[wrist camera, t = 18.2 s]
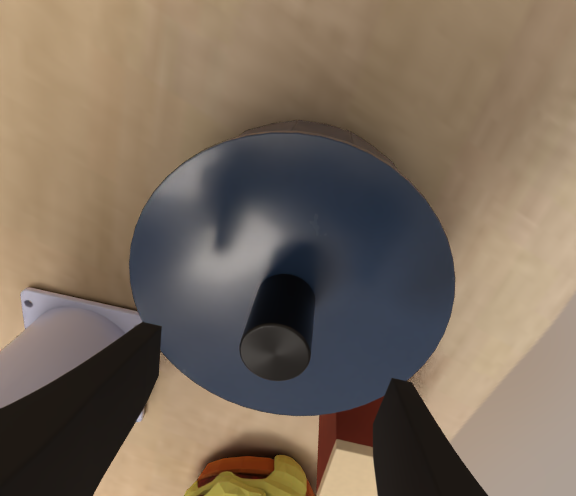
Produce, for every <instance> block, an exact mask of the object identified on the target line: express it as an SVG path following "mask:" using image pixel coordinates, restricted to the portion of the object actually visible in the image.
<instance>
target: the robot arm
mask: <svg viewBox="0 0 576 496" xmlns="http://www.w3.org/2000/svg"><path fill="white" fill-rule="evenodd" d="M30 301H31V302H32V303H31V302H30ZM21 302H22V310H23V318H24V326H25V330H24V331H23V332H22V333H20V334H19V335H18V336H17V337H16V338H15V339H14V340H12V341H11V342H10V343H9V344H8V345H7V346H6V347H4V348H3V349H2V350H1V351H0V496H93V494H94V492H95V490H96V489H97V487H98V485H99V483H100V481H101V479H102V478H103V476H104V474H105V472H106V471H107V469H108V467H109V466H110V464H111V462H112V461H113V459H114V457H115V456H116V454H117V452H118V451H119V449H120V447H121V446H122V444H123V442H124V441H125V439H126V437H127V436H128V434H129V432H130V431H131V429H132V427H133V426H134V424H135V422H140V421H141V420H142V419H143V417H144V408H145V405H146V403H147V401H148V399H149V396H150V394H151V392H152V390H153V387H154V385H155V383H156V381H157V378H158V376H159V362H160V346H161V330H162V326H158V325H154V324H150V323H145V322H142V320H141V318H140V316H139V313H138V311H134V310H129V309H125V308H120V307H116V306H111V305H107V304H102V303H98V302H94V301H89V300H85V299H80V298H76V297H71V296H67V295H62V294H58V293H53V292H49V291H44V290H40V289H35V288H31V287H28V288H25V289H24V290H23V291H22V292H21ZM373 462H374V470H375V478H376V486H377V494H378V496H488V495H487V494H486V492H485V491H484V490H483V489H482V487H481V486H480V485H479V483H478V482H477V481H476V479H475V478H474V477H473V475H472V474H471V473H470V471H469V470H468V468H466V466H465V465H464V463H463V462H462V461H461V459H460V457H459V456H458V455H457V453H456V452H455V450H454V449H453V447H452V446H451V444H450V443H449V441H448V440H447V438H446V437H445V435H444V434H443V432H442V431H441V429H440V427H439V426H438V424H437V423H436V421H435V420H434V418H433V416H432V415H431V413H430V412H429V410H428V408H427V407H426V405H425V403H424V402H423V400H422V398H421V397H420V395H419V394H418V392H417V390H416V389H415V387H414V385H413V384H412V382H408V381H404V380H399V379H395V378H392V379H391V381H390V383H389V386H388V388H387V391H386V393H385V396H384V398H383V400H382V403H381V405H380V408H379V410H378V412H377V415H376V417H375V420H374V422H373Z"/></svg>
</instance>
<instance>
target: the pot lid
mask: <svg viewBox="0 0 576 496" xmlns="http://www.w3.org/2000/svg"><path fill="white" fill-rule="evenodd" d="M129 271H130V284H131V288H132V293H133V298H134V302H135V304H136V307H137V310H138V313H139V316H140V318H141V320H142V322H145V323H150V324H154V325H158V326H162V330H161V346H160V350H161V352H162V353H163V354H164V355H165V356H166V358H167V359H168V360H169V361H170V362H171V363H172V364H173V365H174V366H175V367H176V368H177V369H179V370H180V371H181V372H182V373H183V374H184V375H186V376H187V377H188V378H190V379H191V380H192V381H193V382H195V383H196V384H198V385H199V386H201V387H203V388H204V389H206V390H207V391H209V392H211V393H213V394H215V395H217V396H219V397H221V398H223V399H225V400H227V401H230V402H232V403H235V404H238V405H240V406H243V407H246V408H250V409H254V410H257V411H261V412H267V413H273V414H279V415H291V416H315V415H324V414H332V413H337V412H342V411H346V410H350V409H353V408H356V407H359V406H362V405H366V404H368V403H370V402H372V401H374V400H377V399H379V398H381V397H383V396H385V393H386V391H387V388H388V386H389V383H390V381H391V379H392V378H395V379H399V380H404V381H407V380H408V379H410V378H411V377H412V376H413V375H414V374H415V373H416V372H417V371H418V370H419V369H420V368H421V367H422V366H423V365H424V364H425V363H426V361H427V360H428V359H429V357H430V356H431V355H432V353H433V352H434V351H435V349H436V347H437V346H438V344H439V342H440V340H441V338H442V337H443V335H444V333H445V330H446V327H447V325H448V322H449V319H450V316H451V312H452V307H453V302H454V296H455V271H454V263H453V257H452V253H451V249H450V246H449V242H448V239H447V236H446V234H445V232H444V230H443V228H442V226H441V223H440V221H439V219H438V217H437V216H436V214H435V213H434V211H433V210H432V208H431V207H430V205H429V204H428V202H427V201H426V199H425V198H424V196H423V195H422V194H421V193H420V192H419V191H418V190H417V188H416V187H415V186H414V185H413V184H412V183H411V182H410V181H409V180H408V179H407V178H406V177H405V176H404V175H402V174H401V173H400V172H399V171H398V170H396V169H395V168H394V167H393V166H392V165H390V164H389V163H387V162H386V161H384V160H383V159H381V158H379V157H378V156H376V155H374V154H373V153H371V152H370V151H367V150H365V149H363V148H361V147H358V146H356V145H354V144H352V143H349V142H347V141H344V140H340V139H337V138H333V137H330V136H326V135H323V134H316V133H309V132H303V131H266V132H258V133H250V134H246V135H242V136H238V137H235V138H231V139H227V140H225V141H222V142H220V143H218V144H215V145H213V146H211V147H208V148H206V149H204V150H203V151H201V152H199V153H198V154H196V155H195V156H193V157H191V158H190V159H188V160H187V161H185V162H184V163H182V164H181V165H180V166H179V167H178V168H176V169H175V170H174V171H173V172H172V173H171V174H169V175H168V176H167V177H166V178H165V179H164V181H163V182H162V183H161V184H160V185H159V186H158V187H157V189H156V190H155V191H154V192H153V194H152V195H151V197H150V198H149V200H148V202H147V203H146V205H145V206H144V208H143V210H142V212H141V215H140V217H139V219H138V222H137V224H136V226H135V230H134V234H133V238H132V242H131V248H130V259H129Z"/></svg>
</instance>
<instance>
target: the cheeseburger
mask: <svg viewBox="0 0 576 496" xmlns="http://www.w3.org/2000/svg"><path fill="white" fill-rule="evenodd" d="M184 496H315V495H314V493H313V490H312V488H311V486H310V484H309V482H308V480H307V479H306V475H305V473H304V471H303V470H302V468H301V466H300V465H299V464H298V463H297V462H296V461H295V460H294V459H293V458H291V457H288V456H285V455H277V456H275V460H273V459H271V458H265V457H253V456H243V457H233V458H223V459H220V460H217V461H214V462H211V463H208V465H207V466H206V467H205V469H204V470H203V472H202V473H201V475H200V476H199V478H198V479H197V481H196V482H195V483H194V484H193V485H192V486H191V487H190V488H189V489H188V490H187V491H186V493H185V495H184Z"/></svg>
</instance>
